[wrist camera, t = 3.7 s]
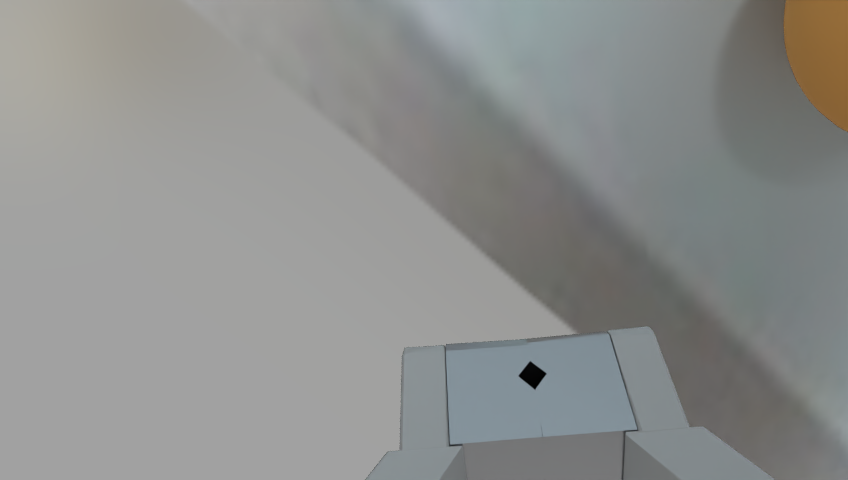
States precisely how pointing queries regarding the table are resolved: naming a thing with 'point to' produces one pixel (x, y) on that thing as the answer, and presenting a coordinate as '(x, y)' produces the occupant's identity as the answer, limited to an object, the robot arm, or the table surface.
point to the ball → (820, 53)
